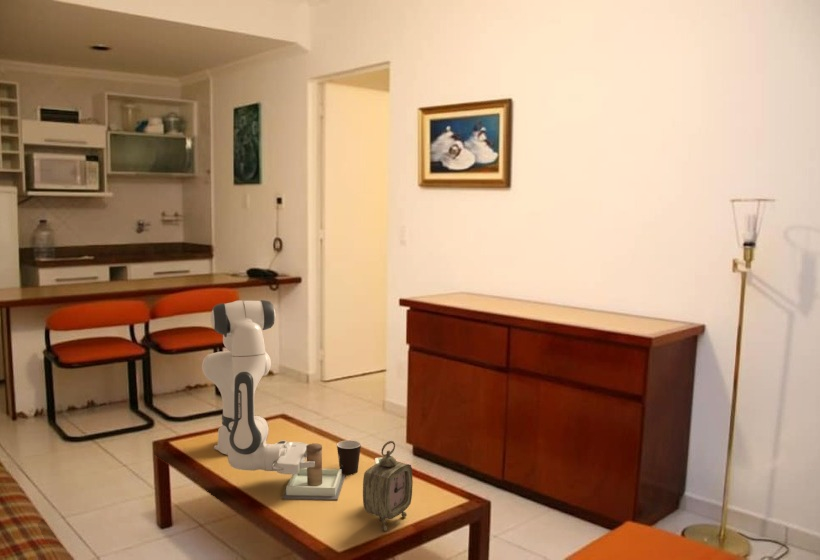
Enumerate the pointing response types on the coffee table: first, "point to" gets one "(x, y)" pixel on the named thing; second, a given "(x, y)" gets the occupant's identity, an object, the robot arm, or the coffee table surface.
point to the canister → (315, 472)
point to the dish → (327, 487)
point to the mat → (303, 497)
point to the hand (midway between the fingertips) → (317, 458)
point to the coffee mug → (349, 456)
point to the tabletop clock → (387, 487)
